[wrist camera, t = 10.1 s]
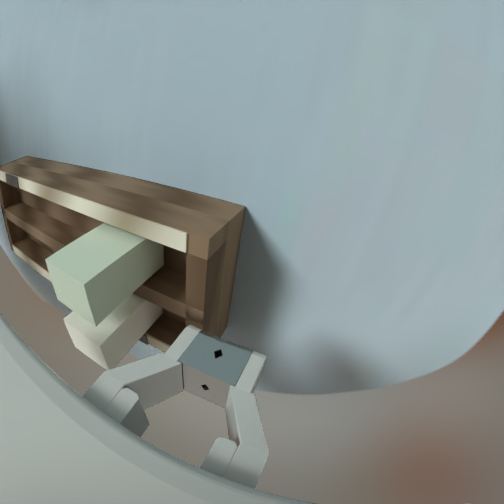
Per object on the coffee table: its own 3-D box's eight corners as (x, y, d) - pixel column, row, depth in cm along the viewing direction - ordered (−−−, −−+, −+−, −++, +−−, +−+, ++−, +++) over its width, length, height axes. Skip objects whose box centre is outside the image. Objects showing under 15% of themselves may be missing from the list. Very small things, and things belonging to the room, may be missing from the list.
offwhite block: (128, 296, 18) (74, 346, 13) (124, 268, 16) (63, 319, 12) (162, 313, 17) (110, 372, 12) (160, 285, 16) (99, 346, 11)
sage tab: (125, 248, 15) (57, 299, 11) (122, 212, 14) (45, 259, 10) (163, 264, 15) (96, 327, 10) (163, 226, 14) (83, 284, 9)
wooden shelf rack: (37, 233, 24) (10, 250, 20) (26, 156, 19) (-7, 169, 15) (226, 326, 19) (199, 370, 15) (245, 206, 14) (206, 241, 11)
